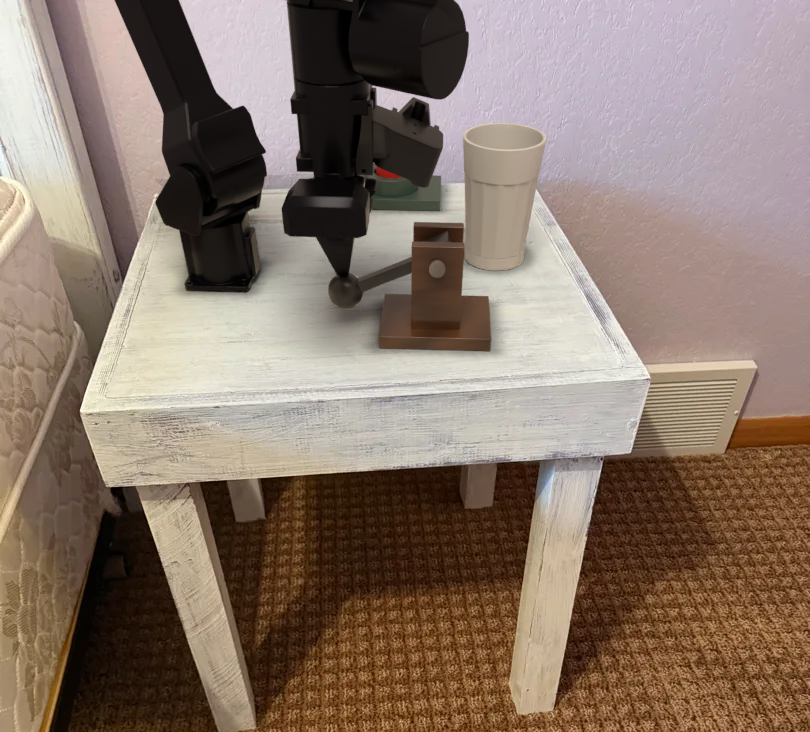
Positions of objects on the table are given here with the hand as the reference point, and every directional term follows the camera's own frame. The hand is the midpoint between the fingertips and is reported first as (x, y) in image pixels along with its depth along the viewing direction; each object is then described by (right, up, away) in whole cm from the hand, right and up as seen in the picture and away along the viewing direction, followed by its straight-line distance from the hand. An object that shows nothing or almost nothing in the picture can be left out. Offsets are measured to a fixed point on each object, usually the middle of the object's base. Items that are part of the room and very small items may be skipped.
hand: (343, 273), depth 68 cm
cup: (+15, +6, +14) cm, 21 cm away
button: (+4, +20, +23) cm, 31 cm away
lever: (+5, -1, +1) cm, 5 cm away
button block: (+4, +18, +25) cm, 31 cm away
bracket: (+8, -4, +3) cm, 10 cm away
